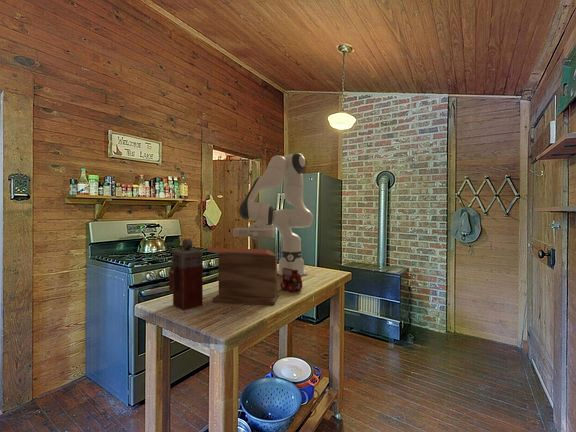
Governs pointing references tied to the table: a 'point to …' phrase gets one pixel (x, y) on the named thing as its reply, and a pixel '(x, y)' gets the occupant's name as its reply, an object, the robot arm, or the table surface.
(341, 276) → the table surface
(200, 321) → the table surface
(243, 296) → the wooden box
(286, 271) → the dark red lumpy cluster
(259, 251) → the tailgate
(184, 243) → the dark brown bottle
